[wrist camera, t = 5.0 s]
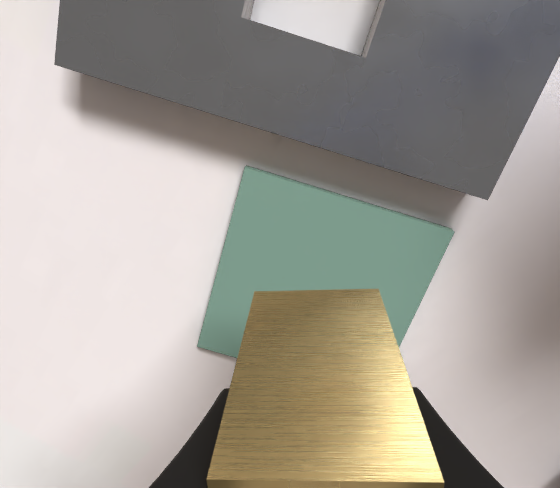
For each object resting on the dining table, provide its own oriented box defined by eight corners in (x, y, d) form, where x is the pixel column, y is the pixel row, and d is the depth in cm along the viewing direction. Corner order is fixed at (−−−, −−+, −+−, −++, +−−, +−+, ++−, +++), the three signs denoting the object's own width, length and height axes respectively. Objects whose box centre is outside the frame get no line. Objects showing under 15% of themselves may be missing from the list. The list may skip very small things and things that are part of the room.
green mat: (451, 228, 20) (454, 231, 19) (373, 391, 23) (374, 397, 23) (246, 165, 19) (244, 167, 19) (199, 341, 23) (197, 346, 22)
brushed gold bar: (378, 288, 14) (444, 481, 7) (375, 389, 15) (427, 629, 8) (254, 291, 14) (206, 480, 7) (263, 390, 15) (229, 622, 9)
